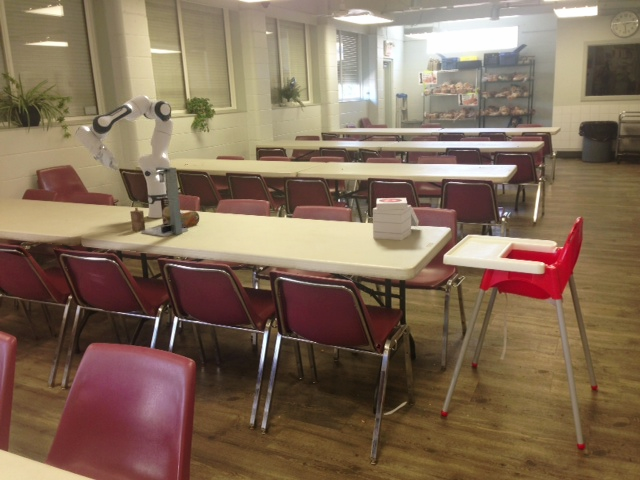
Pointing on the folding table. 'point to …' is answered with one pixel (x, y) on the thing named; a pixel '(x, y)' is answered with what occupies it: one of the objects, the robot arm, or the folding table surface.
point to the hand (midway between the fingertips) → (117, 167)
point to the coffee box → (165, 210)
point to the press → (173, 203)
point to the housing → (137, 220)
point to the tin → (189, 218)
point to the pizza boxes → (393, 219)
